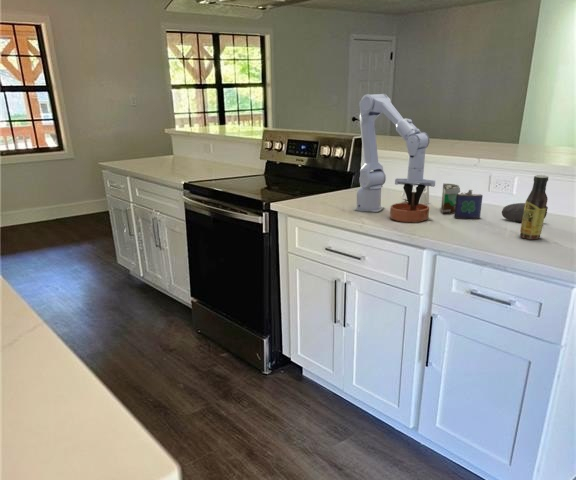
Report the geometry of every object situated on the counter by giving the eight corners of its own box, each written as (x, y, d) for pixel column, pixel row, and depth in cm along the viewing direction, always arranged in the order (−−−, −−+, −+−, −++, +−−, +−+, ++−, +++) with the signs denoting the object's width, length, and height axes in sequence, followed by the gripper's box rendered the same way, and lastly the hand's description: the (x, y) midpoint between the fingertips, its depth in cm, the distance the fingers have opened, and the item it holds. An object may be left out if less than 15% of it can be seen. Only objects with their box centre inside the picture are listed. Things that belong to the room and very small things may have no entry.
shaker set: (399, 202, 220) (401, 176, 215) (404, 200, 223) (406, 174, 218) (424, 205, 212) (427, 178, 208) (429, 203, 215) (431, 177, 211)
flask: (479, 217, 190) (483, 189, 186) (480, 219, 188) (483, 190, 184) (454, 216, 193) (456, 188, 189) (454, 218, 190) (457, 190, 186)
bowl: (385, 221, 190) (385, 209, 188) (396, 212, 201) (396, 201, 200) (423, 224, 184) (424, 212, 182) (431, 215, 195) (432, 204, 193)
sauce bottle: (515, 235, 167) (525, 174, 159) (533, 234, 167) (544, 173, 160) (525, 241, 161) (536, 177, 153) (544, 240, 161) (556, 177, 154)
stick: (408, 213, 191) (410, 192, 188) (410, 212, 193) (411, 191, 189) (414, 214, 190) (416, 193, 187) (416, 213, 192) (417, 192, 189)
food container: (459, 215, 195) (462, 189, 191) (443, 214, 196) (445, 188, 192) (456, 208, 206) (459, 183, 202) (440, 207, 207) (443, 183, 203)
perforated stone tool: (498, 220, 186) (501, 201, 183) (503, 217, 189) (505, 199, 187) (542, 226, 177) (545, 206, 174) (546, 223, 180) (549, 203, 178)
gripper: (438, 167, 185) (435, 203, 190) (399, 165, 191) (397, 201, 196) (434, 169, 179) (430, 207, 184) (394, 168, 185) (392, 204, 191)
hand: (413, 204), depth 190 cm, fingers closed on stick, 2 cm apart
